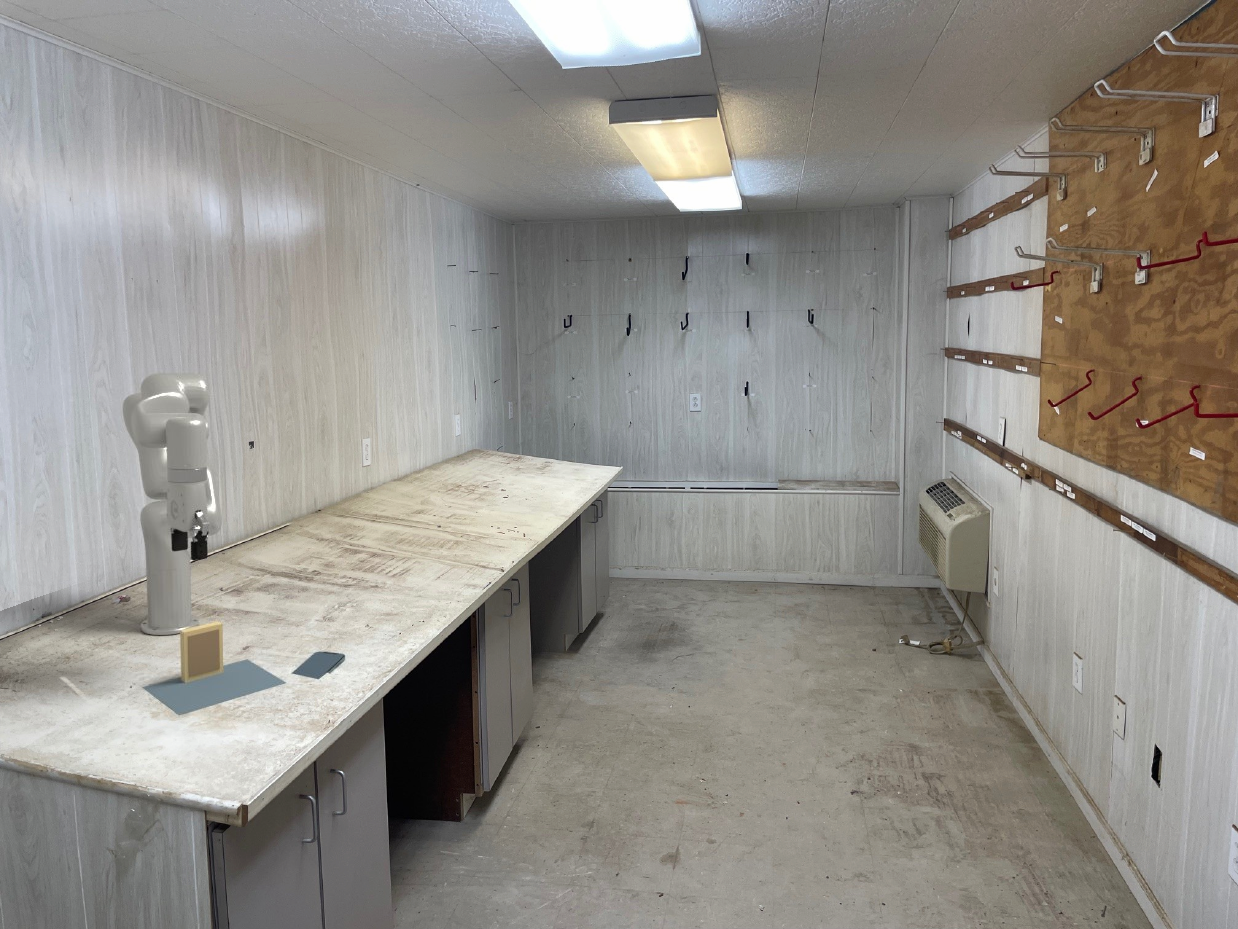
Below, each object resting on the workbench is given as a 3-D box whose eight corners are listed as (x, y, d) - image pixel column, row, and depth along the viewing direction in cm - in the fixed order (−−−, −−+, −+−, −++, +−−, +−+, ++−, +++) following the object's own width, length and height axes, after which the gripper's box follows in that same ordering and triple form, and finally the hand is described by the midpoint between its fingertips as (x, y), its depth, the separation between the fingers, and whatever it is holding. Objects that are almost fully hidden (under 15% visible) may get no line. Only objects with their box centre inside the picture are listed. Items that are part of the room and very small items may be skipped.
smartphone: (283, 678, 182) (315, 650, 197) (283, 686, 182) (315, 657, 197) (317, 682, 181) (347, 653, 196) (317, 689, 181) (347, 660, 196)
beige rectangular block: (181, 680, 178) (180, 630, 176) (219, 669, 184) (218, 621, 182) (185, 683, 177) (184, 632, 175) (223, 672, 183) (222, 623, 181)
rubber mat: (142, 691, 174) (142, 687, 174) (247, 662, 191) (247, 659, 190) (179, 719, 163) (179, 715, 163) (286, 686, 180) (286, 682, 180)
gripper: (152, 471, 182) (154, 549, 184) (186, 483, 170) (188, 566, 173) (188, 469, 187) (190, 544, 190) (223, 479, 176) (225, 560, 178)
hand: (189, 554), depth 181 cm, fingers open, 9 cm apart
